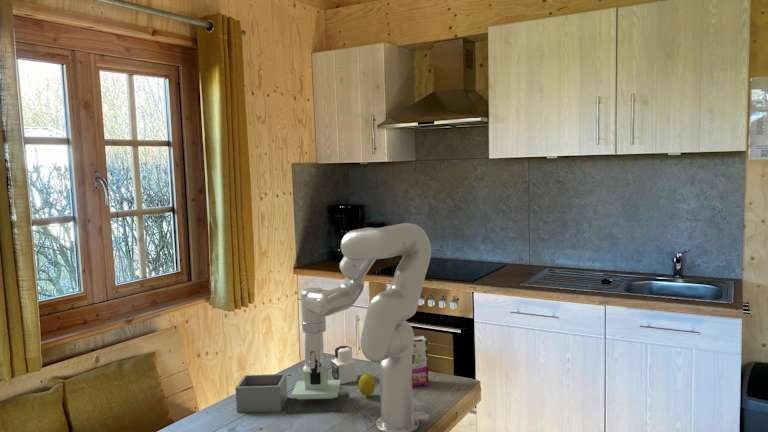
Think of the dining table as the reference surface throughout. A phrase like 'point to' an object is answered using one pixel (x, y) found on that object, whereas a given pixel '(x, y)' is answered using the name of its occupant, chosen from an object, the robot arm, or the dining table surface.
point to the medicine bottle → (344, 365)
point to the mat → (317, 404)
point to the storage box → (261, 393)
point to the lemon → (366, 384)
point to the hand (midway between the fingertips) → (316, 380)
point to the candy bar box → (419, 362)
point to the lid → (316, 386)
